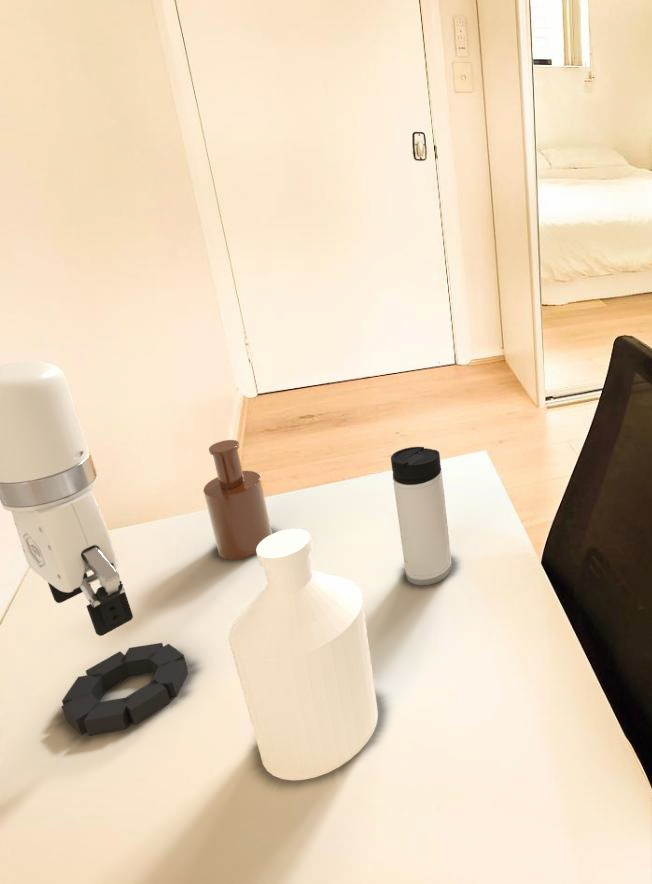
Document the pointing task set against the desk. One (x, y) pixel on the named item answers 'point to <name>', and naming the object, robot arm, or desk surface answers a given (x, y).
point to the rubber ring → (118, 713)
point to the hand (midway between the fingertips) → (94, 610)
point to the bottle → (304, 663)
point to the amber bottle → (235, 504)
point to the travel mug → (421, 514)
